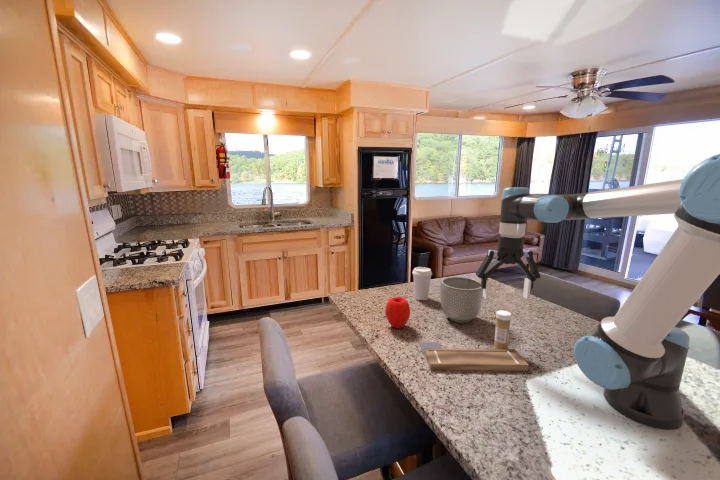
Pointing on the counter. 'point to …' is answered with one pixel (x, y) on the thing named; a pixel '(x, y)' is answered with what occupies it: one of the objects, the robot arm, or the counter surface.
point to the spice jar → (502, 329)
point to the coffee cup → (421, 282)
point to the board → (475, 359)
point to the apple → (397, 311)
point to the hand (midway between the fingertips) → (505, 297)
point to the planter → (461, 298)
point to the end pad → (429, 345)
